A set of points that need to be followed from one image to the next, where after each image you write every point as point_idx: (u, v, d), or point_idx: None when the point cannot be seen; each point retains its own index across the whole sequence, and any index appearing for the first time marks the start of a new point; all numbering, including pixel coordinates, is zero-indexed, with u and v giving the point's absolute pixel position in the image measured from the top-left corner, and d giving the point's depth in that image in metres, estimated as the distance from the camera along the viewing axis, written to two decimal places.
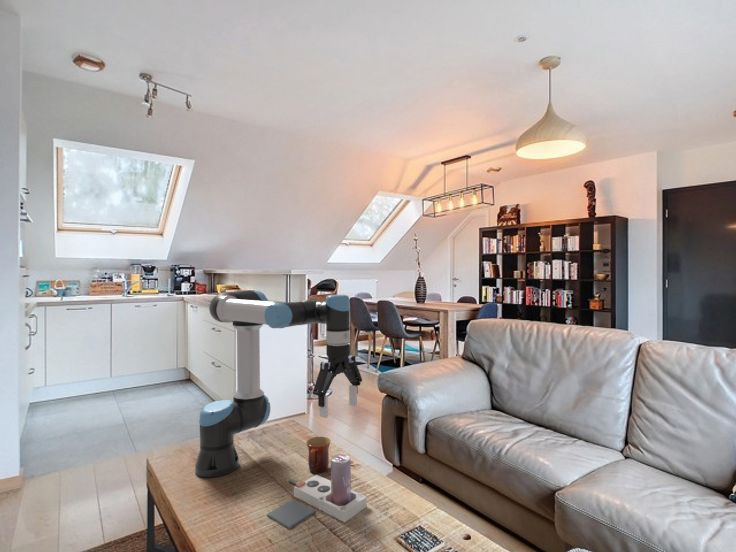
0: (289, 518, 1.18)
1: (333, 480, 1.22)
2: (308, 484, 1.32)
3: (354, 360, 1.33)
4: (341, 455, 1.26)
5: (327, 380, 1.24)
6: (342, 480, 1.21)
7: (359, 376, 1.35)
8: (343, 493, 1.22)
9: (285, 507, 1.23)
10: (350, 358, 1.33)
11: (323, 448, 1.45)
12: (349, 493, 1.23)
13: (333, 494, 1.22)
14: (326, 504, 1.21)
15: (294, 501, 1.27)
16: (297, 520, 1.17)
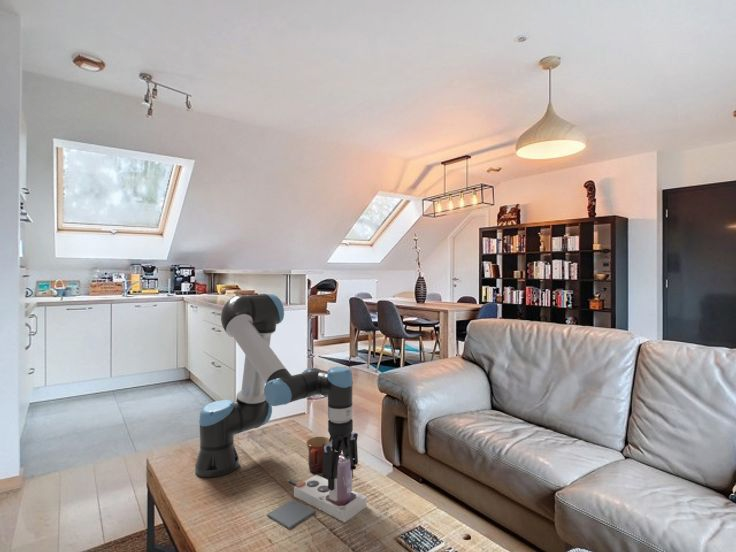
0: (289, 518, 1.18)
1: None
2: (308, 484, 1.32)
3: (356, 438, 1.28)
4: (341, 455, 1.26)
5: (333, 461, 1.21)
6: (342, 480, 1.21)
7: (356, 457, 1.28)
8: (343, 493, 1.22)
9: (285, 507, 1.23)
10: (352, 434, 1.28)
11: None
12: (349, 493, 1.23)
13: None
14: (326, 504, 1.21)
15: (294, 501, 1.27)
16: (297, 520, 1.17)
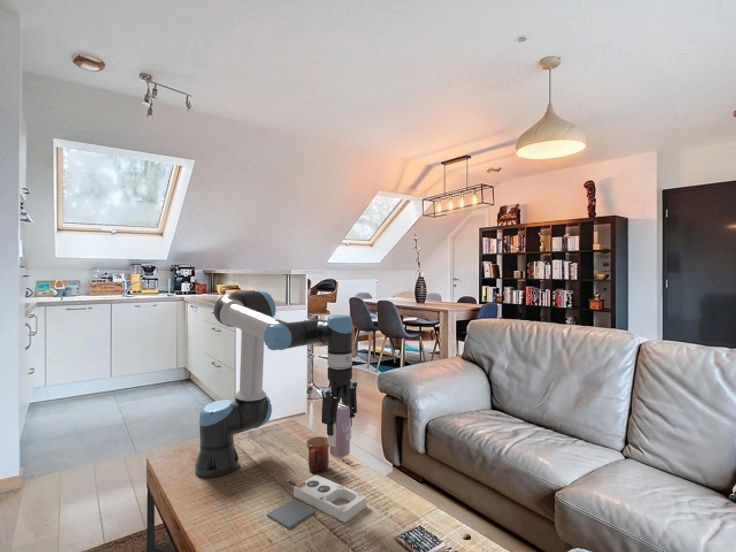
0: (289, 518, 1.18)
1: None
2: (308, 484, 1.32)
3: (355, 387, 1.28)
4: (340, 403, 1.26)
5: (332, 407, 1.21)
6: (341, 426, 1.21)
7: (355, 406, 1.28)
8: (342, 439, 1.22)
9: (285, 507, 1.23)
10: (352, 383, 1.28)
11: (323, 448, 1.45)
12: (348, 440, 1.23)
13: None
14: (326, 504, 1.21)
15: (294, 501, 1.27)
16: (297, 520, 1.17)
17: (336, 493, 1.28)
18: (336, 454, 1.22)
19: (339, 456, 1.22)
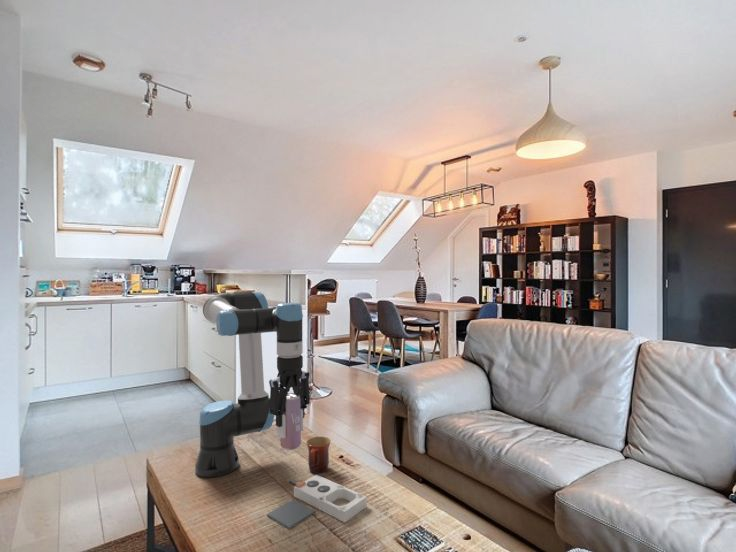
0: (289, 518, 1.18)
1: None
2: (308, 484, 1.32)
3: (307, 377, 1.24)
4: (292, 394, 1.22)
5: (281, 398, 1.17)
6: (291, 417, 1.18)
7: (307, 397, 1.24)
8: (292, 430, 1.18)
9: (285, 507, 1.23)
10: (304, 373, 1.24)
11: (323, 448, 1.45)
12: (298, 431, 1.19)
13: None
14: (326, 504, 1.21)
15: (294, 501, 1.27)
16: (297, 520, 1.17)
17: (336, 493, 1.28)
18: (285, 446, 1.18)
19: (289, 448, 1.18)
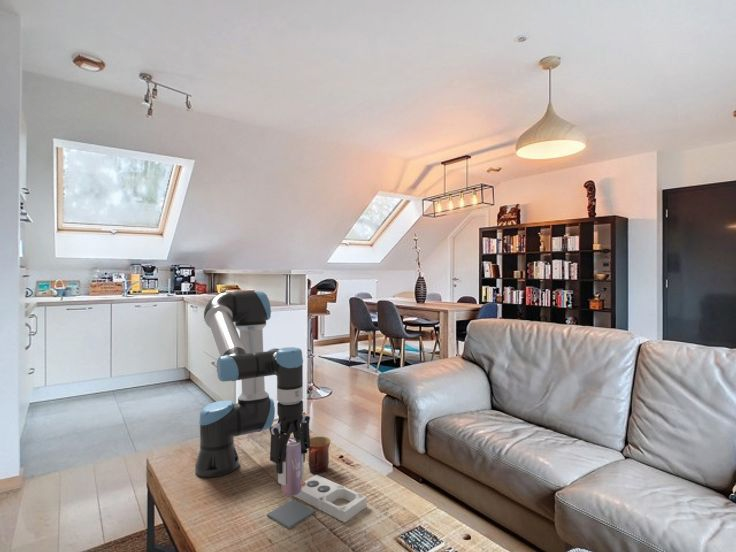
0: (289, 518, 1.18)
1: None
2: (308, 484, 1.32)
3: (308, 421, 1.24)
4: (292, 438, 1.23)
5: (282, 444, 1.18)
6: (291, 464, 1.18)
7: (308, 441, 1.24)
8: (293, 477, 1.18)
9: (285, 507, 1.23)
10: (304, 417, 1.24)
11: (323, 448, 1.45)
12: (299, 477, 1.19)
13: None
14: (326, 504, 1.21)
15: (294, 501, 1.27)
16: (297, 520, 1.17)
17: (336, 493, 1.28)
18: (286, 493, 1.18)
19: (289, 494, 1.18)
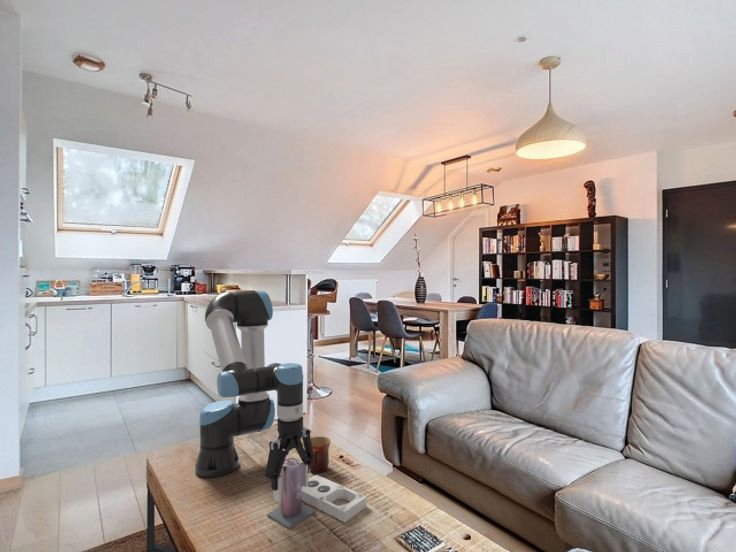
0: (289, 518, 1.18)
1: (282, 485, 1.19)
2: (308, 484, 1.32)
3: (308, 434, 1.25)
4: (292, 459, 1.23)
5: (279, 460, 1.17)
6: (291, 485, 1.18)
7: (311, 453, 1.26)
8: (292, 498, 1.18)
9: None
10: (304, 432, 1.24)
11: (323, 448, 1.45)
12: (299, 498, 1.20)
13: (282, 499, 1.19)
14: (326, 504, 1.21)
15: None
16: (297, 520, 1.17)
17: (336, 493, 1.28)
18: (286, 514, 1.18)
19: (289, 516, 1.18)
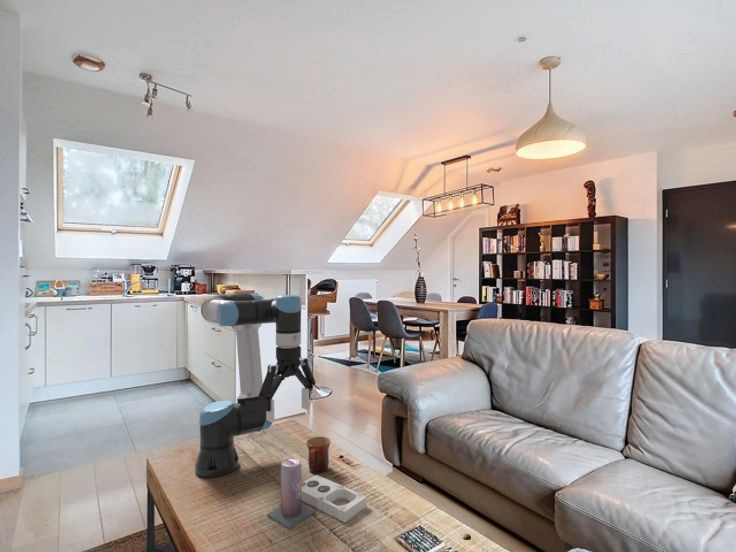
0: (289, 518, 1.18)
1: (282, 485, 1.19)
2: (308, 484, 1.32)
3: (306, 362, 1.29)
4: (292, 459, 1.23)
5: (274, 383, 1.20)
6: (291, 485, 1.18)
7: (312, 379, 1.31)
8: (293, 498, 1.18)
9: None
10: (302, 360, 1.28)
11: (323, 448, 1.45)
12: (299, 498, 1.20)
13: (282, 499, 1.19)
14: (326, 504, 1.21)
15: None
16: (297, 520, 1.17)
17: (336, 493, 1.28)
18: (286, 514, 1.18)
19: (289, 516, 1.18)
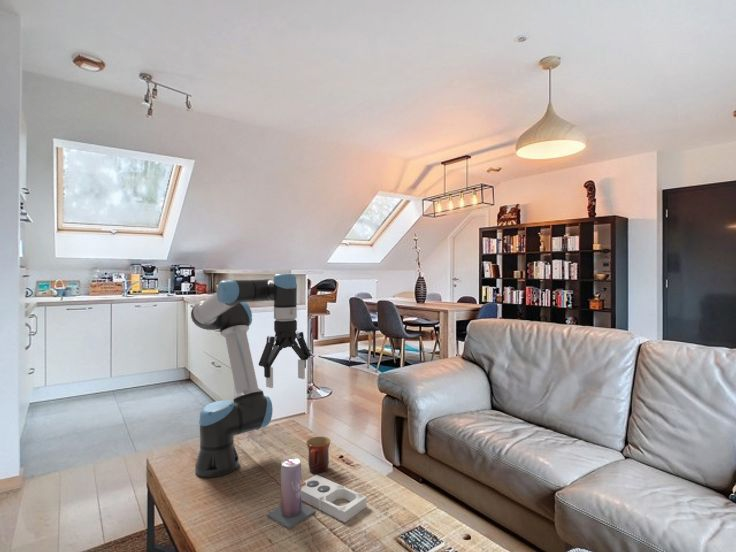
0: (289, 518, 1.18)
1: (282, 485, 1.19)
2: (308, 484, 1.32)
3: (302, 336, 1.41)
4: (292, 459, 1.23)
5: (273, 353, 1.32)
6: (291, 485, 1.18)
7: (307, 351, 1.43)
8: (293, 498, 1.18)
9: None
10: (298, 334, 1.41)
11: (323, 448, 1.45)
12: (299, 498, 1.20)
13: (282, 499, 1.19)
14: (326, 504, 1.21)
15: None
16: (297, 520, 1.17)
17: (336, 493, 1.28)
18: (286, 514, 1.18)
19: (289, 516, 1.18)
